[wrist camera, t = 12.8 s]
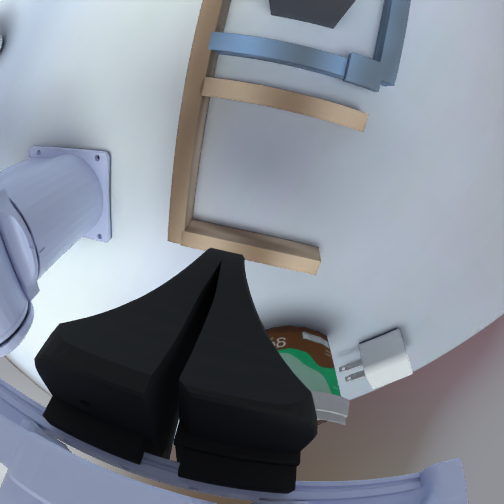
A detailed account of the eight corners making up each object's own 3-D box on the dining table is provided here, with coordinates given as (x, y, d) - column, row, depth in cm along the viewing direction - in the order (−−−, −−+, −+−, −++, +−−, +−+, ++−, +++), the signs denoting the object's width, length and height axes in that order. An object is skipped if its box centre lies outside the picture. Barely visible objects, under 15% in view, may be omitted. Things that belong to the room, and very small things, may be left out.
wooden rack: (176, 230, 22) (163, 247, 20) (236, -77, 9) (230, -95, 7) (328, 263, 22) (332, 284, 20) (406, -38, 9) (420, -51, 7)
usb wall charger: (404, 347, 27) (413, 376, 23) (346, 369, 29) (349, 398, 26) (397, 325, 25) (407, 355, 22) (334, 350, 28) (338, 381, 24)
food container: (296, 293, 24) (297, 395, 16) (339, 329, 26) (351, 422, 17) (209, 354, 30) (188, 435, 21) (252, 379, 31) (241, 456, 23)
